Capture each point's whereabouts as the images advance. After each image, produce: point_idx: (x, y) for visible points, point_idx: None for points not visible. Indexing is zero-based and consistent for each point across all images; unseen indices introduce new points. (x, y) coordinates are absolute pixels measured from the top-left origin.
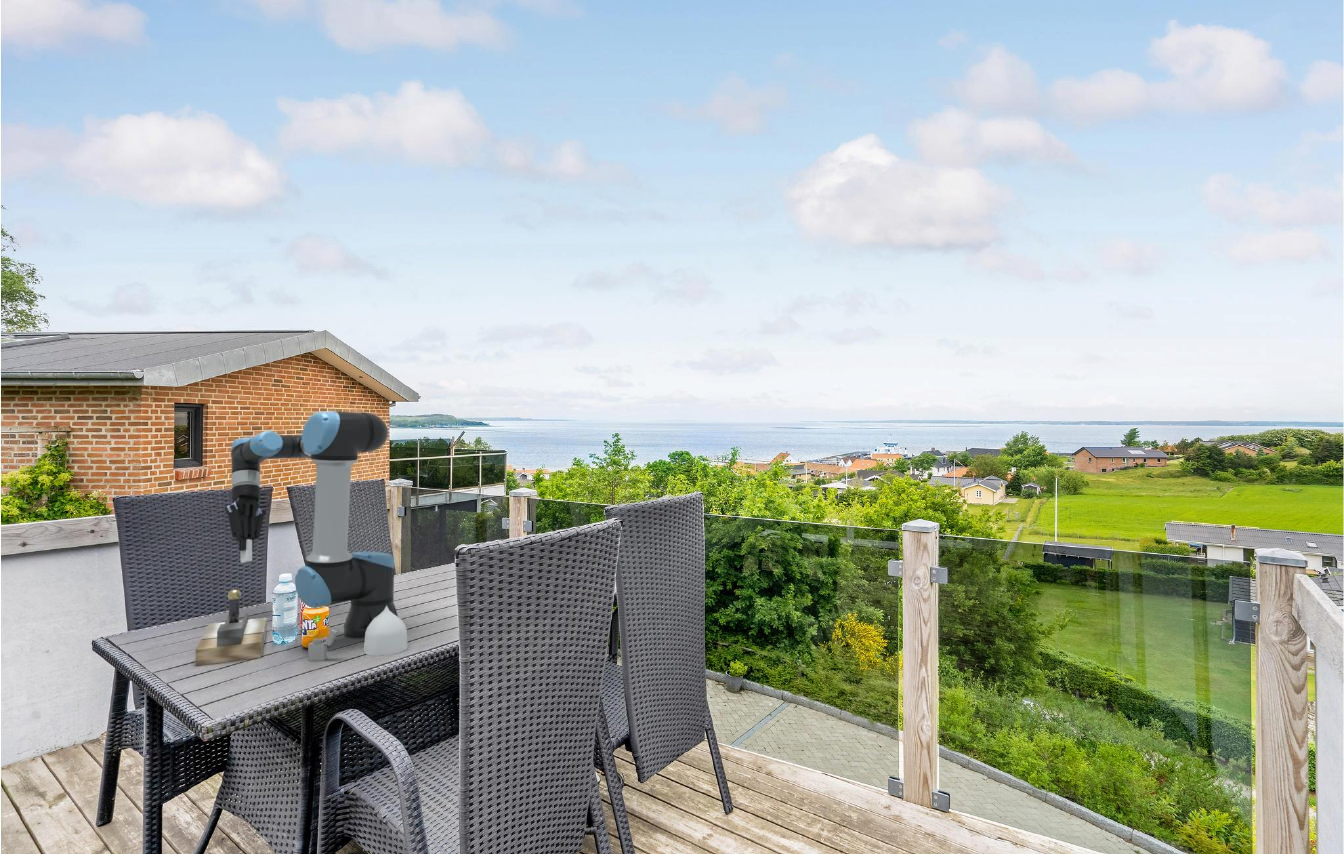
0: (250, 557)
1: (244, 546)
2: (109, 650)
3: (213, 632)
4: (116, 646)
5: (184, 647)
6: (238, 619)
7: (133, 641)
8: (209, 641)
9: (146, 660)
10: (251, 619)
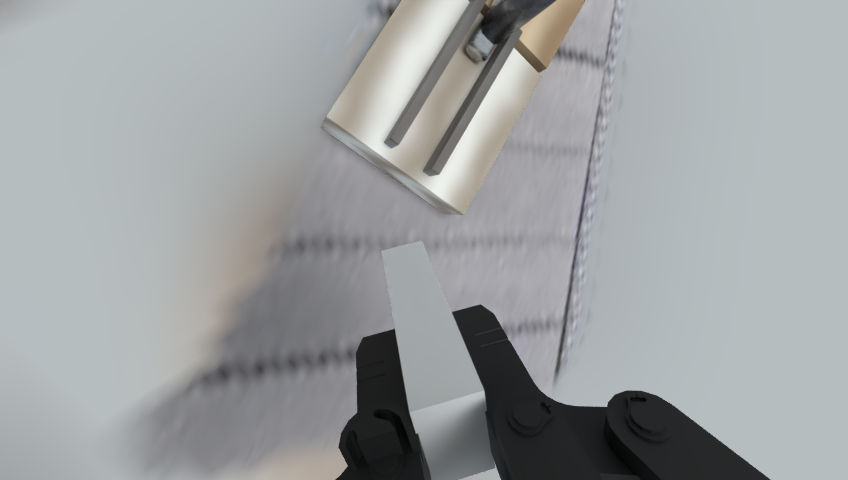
0: (400, 261)
1: (479, 331)
2: (581, 296)
3: (500, 108)
4: (566, 316)
5: (508, 181)
6: (497, 3)
7: (537, 330)
8: (542, 33)
9: (579, 157)
10: (370, 143)
